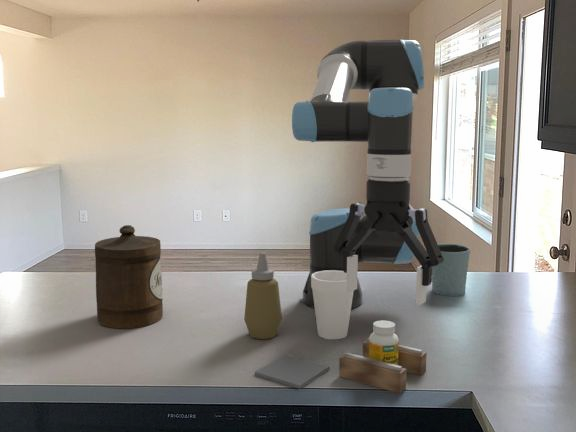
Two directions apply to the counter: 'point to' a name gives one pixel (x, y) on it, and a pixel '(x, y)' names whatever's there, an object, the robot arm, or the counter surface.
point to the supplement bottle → (384, 342)
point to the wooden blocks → (383, 368)
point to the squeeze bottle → (262, 302)
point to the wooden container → (128, 280)
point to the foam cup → (331, 303)
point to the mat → (292, 371)
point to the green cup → (451, 270)
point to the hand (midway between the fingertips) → (385, 296)
